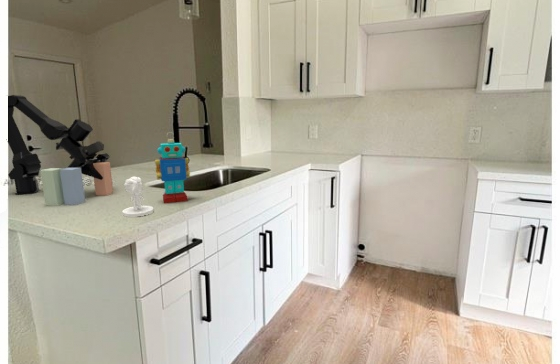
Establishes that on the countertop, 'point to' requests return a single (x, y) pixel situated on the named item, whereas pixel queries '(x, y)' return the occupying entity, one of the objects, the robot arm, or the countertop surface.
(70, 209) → the countertop surface
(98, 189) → the terracotta post
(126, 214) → the figurine
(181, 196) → the toy robot
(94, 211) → the countertop surface
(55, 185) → the sage post
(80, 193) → the slate post
